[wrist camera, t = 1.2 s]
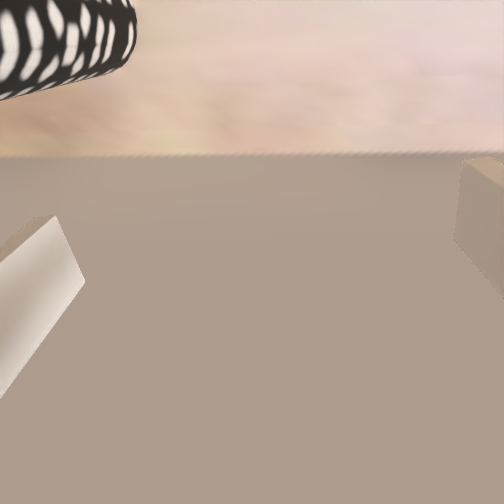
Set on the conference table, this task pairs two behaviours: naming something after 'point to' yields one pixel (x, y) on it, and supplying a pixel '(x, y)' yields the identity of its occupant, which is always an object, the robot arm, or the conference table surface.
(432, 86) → the conference table surface
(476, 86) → the conference table surface
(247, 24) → the conference table surface
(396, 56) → the conference table surface
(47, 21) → the white-spotted black cylinder
